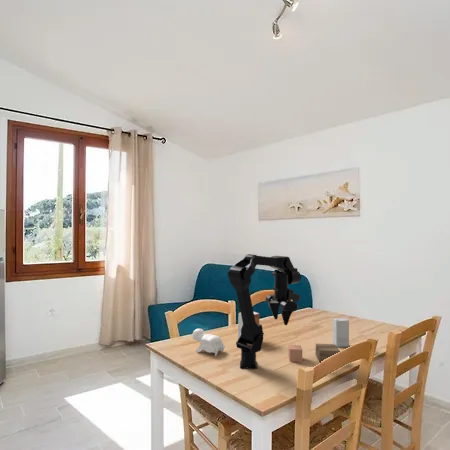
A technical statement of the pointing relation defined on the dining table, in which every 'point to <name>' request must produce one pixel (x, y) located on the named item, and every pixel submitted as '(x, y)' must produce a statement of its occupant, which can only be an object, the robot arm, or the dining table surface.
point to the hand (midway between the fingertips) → (280, 322)
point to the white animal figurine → (208, 342)
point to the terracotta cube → (295, 353)
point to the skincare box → (341, 332)
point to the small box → (240, 322)
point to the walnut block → (325, 351)
